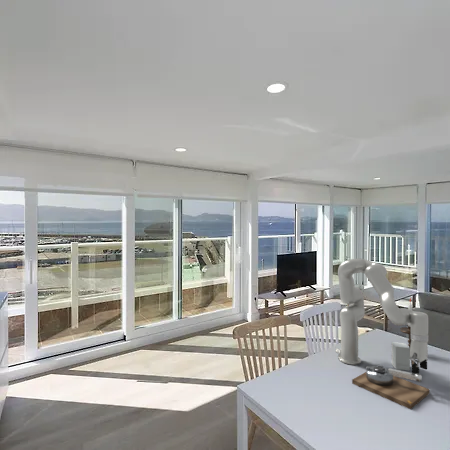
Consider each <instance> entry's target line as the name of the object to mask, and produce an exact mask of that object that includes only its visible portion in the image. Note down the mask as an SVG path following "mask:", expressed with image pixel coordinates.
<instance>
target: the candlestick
mask: <svg viewBox="0 0 450 450" xmlns="http://www.w3.org/2000/svg"><path fill="white" fill-rule="evenodd" d="M411 301H412V298H410V299H409V304H408V305H407V306H408V307H407V309H409V310H412V311H413V304H412V302H411ZM405 325H406V327H404V326H401V327H400V328H399V331H400V332H401V333H403V334H407V335H408V339H407V343H408V344H407V346H408V347H409V348H410V345H411V324H410V323H407V324H405Z"/></svg>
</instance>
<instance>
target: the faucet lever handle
mask: <svg viewBox="0 0 450 450" xmlns="http://www.w3.org/2000/svg"><path fill="white" fill-rule="evenodd" d="M365 368H366V369H365V370H366V371H365V372H366V378H367V380H369V381H370V382H372V383H374V384H377V385H381V386H390V385H392V384H393V376H396V377H398V378H401V379H405V380H412V381H416V382H420V383H421V382H422V378H423V377H422V374H420V373H419V374H414V373H412V372H409V371H406V370H397V369H395V368H390V367H389V368H386V367H384V365H382V364H377V365H376V366H375V365H374V366H373V365H371V366H370V365H369V366H366V367H365Z"/></svg>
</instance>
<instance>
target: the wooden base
mask: <svg viewBox="0 0 450 450" xmlns="http://www.w3.org/2000/svg"><path fill="white" fill-rule="evenodd" d="M351 382H352V384H353V385H354V386H356V387H359V388H362V389H364V390H366V391H369V392H371V393H373V394H375V395H377V396H379V397H382V398H384V399H386V400H388V401H391V402H393V403H396V404H397V405H399V406H402V407H404V408H407V409H409V410H412V409H413V408H414V407H415V406H416V405H418V404H419V403H420V402H421V401H423V400H424V399H425V398H426V397H428V396H429V395H430V393H431V392H430V390H431V389H430V388H427V387H424V386H421V385H419V384H416V383H414V382H412V381H409V380H407V379H405V378H402V377H397V376H393V384H392V385H390V386H381V385H377V384H374V383H372V382H370V381H369V380H367V378H366V371H365V372H363V373H362V374H360V375H357V376H355V377H354V378H352V379H351Z"/></svg>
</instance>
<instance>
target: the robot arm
mask: <svg viewBox="0 0 450 450" xmlns="http://www.w3.org/2000/svg"><path fill="white" fill-rule="evenodd" d="M360 273H361V274H365V277H366V279H368V281H369V282H370V284H371V286H372V288H373V289H374V290H375V292H376V293H377V295H378V299H379V302H380V305H381V307H382V310H383V312H384V314H385V315H386V316H387V318H388V319H389V321H390V322H391V324H393V325H395V326H397V327H404V326H405V325H408V323H410V324H411V345H410V366H411V373H414V374H420V369H423V370H428V353H429V352H428V351H429V350H428V349H429V347H428V343H429V314H427V313H426V312H422V311H415V310H413V309H412V310H409V309H408V308H405V307H402V308H399V306H398V305H397V303H396V301H395V298H394V297H395V296H394V295H395V293H394V292H395V288H394V286H393V285H392V284H391V282H390V280H389V279H388V278H387V274H388V272H387V268H386V267H385V266H384V265H383V264H381V263H378V262H374V261H372V260H368V259H365V258H351V259H346V260H344V261H343V262H341V263H340V264H339V266H338V269H337V277H338V286H339V287H338V288H339V298H340V301H341V302H342V304H344V305H348V306H344V307H342V309H341V310H340V312H339V321H340V322H339V323H340V348H338V347H336V349H335V353H336V354H338V356H337V357H338V358H337V359H338V361H340V362H341V363H344V364H346V365H350V366H351V365H352V366H353V365H354V366H356V365H360V364H361V363H362V359H361V358H360V357H359V327H358V321H360V320H362V319H364V317H365V315H366V310H365V299H364V298H365V297H364V294H363V292H362V290H361V288H359V287H358V286H355V280H354V277H353V275H356V274H360Z"/></svg>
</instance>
